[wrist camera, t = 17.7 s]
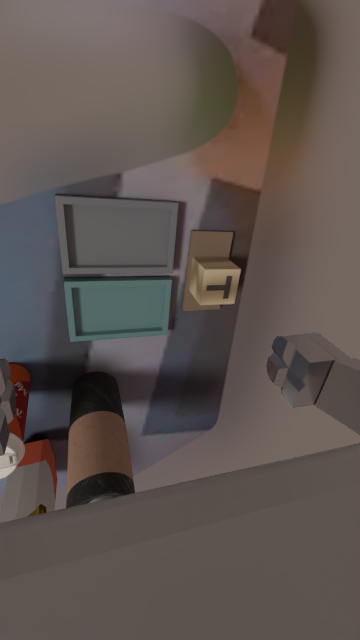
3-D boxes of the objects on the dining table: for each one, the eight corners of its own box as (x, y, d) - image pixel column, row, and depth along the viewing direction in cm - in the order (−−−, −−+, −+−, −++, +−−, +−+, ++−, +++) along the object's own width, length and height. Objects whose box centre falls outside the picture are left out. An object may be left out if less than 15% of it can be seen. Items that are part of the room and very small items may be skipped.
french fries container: (47, 427, 50) (31, 548, 35) (60, 466, 55) (51, 585, 40) (17, 433, 49) (-12, 561, 34) (33, 472, 54) (15, 597, 39)
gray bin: (55, 193, 33) (54, 195, 32) (175, 201, 37) (178, 203, 36) (63, 270, 37) (62, 274, 36) (169, 269, 41) (172, 272, 40)
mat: (191, 230, 39) (192, 231, 39) (231, 231, 41) (233, 232, 41) (182, 309, 45) (183, 311, 45) (218, 307, 47) (219, 309, 47)
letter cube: (192, 256, 41) (205, 269, 37) (225, 257, 42) (241, 269, 38) (188, 289, 43) (200, 305, 39) (220, 289, 45) (234, 304, 40)
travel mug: (86, 363, 45) (88, 488, 29) (128, 379, 49) (151, 497, 33) (61, 398, 47) (51, 533, 31) (104, 410, 51) (114, 537, 35)
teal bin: (64, 277, 38) (63, 281, 37) (169, 275, 42) (171, 279, 41) (70, 336, 42) (70, 341, 41) (165, 329, 46) (167, 334, 45)
